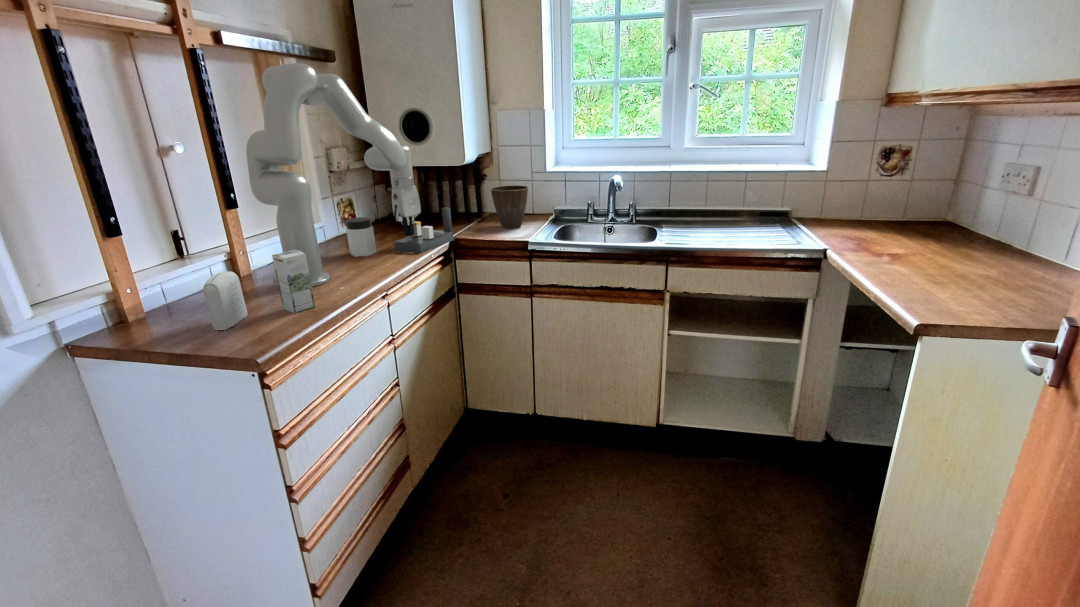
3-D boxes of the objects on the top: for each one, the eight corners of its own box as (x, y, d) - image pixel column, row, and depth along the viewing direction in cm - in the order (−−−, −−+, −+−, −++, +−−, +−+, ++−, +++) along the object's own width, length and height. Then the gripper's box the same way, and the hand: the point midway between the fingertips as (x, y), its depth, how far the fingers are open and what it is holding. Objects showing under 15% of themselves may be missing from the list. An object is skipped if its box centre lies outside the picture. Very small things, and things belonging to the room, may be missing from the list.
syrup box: (304, 303, 136) (293, 248, 131) (316, 307, 132) (305, 252, 127) (283, 309, 132) (270, 254, 127) (294, 314, 128) (282, 257, 123)
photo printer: (233, 315, 129) (220, 267, 125) (250, 314, 129) (238, 266, 125) (210, 332, 120) (196, 281, 115) (230, 331, 120) (216, 280, 115)
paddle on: (417, 236, 187) (416, 223, 186) (410, 235, 189) (409, 222, 187) (422, 234, 190) (420, 221, 188) (415, 234, 191) (413, 221, 189)
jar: (348, 257, 178) (342, 222, 174) (352, 251, 185) (347, 218, 181) (375, 255, 179) (369, 221, 175) (378, 250, 186) (373, 216, 182)
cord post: (450, 241, 194) (447, 209, 190) (441, 240, 196) (438, 208, 192) (456, 239, 198) (453, 207, 193) (447, 238, 199) (444, 206, 195)
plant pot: (490, 225, 218) (487, 186, 213) (525, 222, 222) (523, 184, 216) (497, 232, 205) (494, 191, 199) (533, 229, 208) (532, 188, 203)
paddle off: (429, 239, 183) (428, 227, 181) (422, 238, 184) (421, 227, 182) (433, 237, 185) (432, 226, 183) (426, 236, 186) (425, 225, 184)
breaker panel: (421, 253, 179) (420, 243, 178) (395, 251, 183) (394, 241, 182) (454, 240, 196) (453, 231, 194) (429, 238, 200) (428, 229, 199)
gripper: (397, 186, 171) (404, 240, 178) (425, 180, 184) (430, 231, 190) (379, 185, 174) (387, 239, 181) (407, 179, 187) (414, 230, 193)
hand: (409, 235), depth 186 cm, fingers closed
